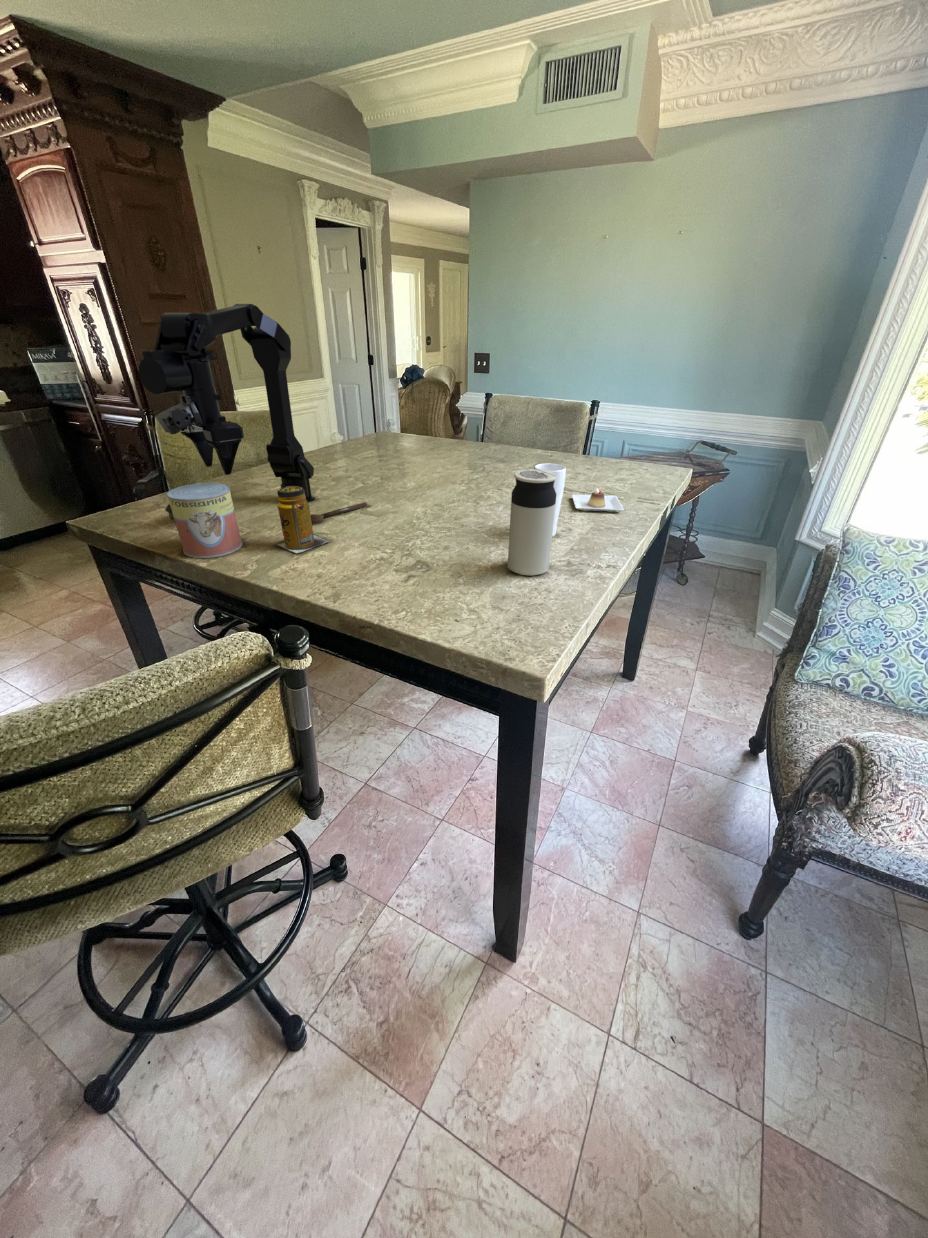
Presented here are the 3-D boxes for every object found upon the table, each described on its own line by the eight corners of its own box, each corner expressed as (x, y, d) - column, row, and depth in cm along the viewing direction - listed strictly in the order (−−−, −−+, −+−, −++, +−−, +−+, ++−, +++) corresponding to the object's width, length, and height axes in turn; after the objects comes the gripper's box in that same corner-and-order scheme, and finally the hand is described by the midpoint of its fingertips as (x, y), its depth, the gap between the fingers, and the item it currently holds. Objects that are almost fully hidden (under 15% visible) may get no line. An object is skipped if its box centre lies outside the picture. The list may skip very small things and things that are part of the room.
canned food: (184, 562, 98) (166, 502, 92) (182, 542, 107) (166, 486, 100) (245, 552, 103) (232, 494, 96) (239, 534, 111) (226, 480, 105)
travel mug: (519, 579, 93) (527, 482, 83) (500, 563, 99) (504, 471, 90) (556, 572, 95) (567, 477, 86) (535, 557, 102) (543, 467, 92)
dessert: (615, 499, 136) (618, 482, 133) (623, 514, 125) (626, 495, 123) (571, 498, 137) (573, 480, 134) (575, 512, 126) (577, 493, 124)
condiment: (276, 545, 106) (265, 489, 100) (310, 534, 111) (302, 480, 105) (296, 554, 102) (286, 496, 96) (331, 542, 107) (323, 487, 101)
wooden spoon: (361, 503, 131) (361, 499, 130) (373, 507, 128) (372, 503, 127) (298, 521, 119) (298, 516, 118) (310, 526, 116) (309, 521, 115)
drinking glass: (561, 531, 114) (568, 464, 107) (556, 541, 109) (563, 472, 101) (532, 527, 116) (537, 462, 109) (525, 537, 111) (530, 469, 103)
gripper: (136, 387, 97) (160, 468, 105) (172, 396, 86) (196, 486, 94) (195, 383, 104) (214, 460, 112) (236, 391, 93) (253, 476, 101)
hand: (218, 470), depth 104 cm, fingers open, 9 cm apart
